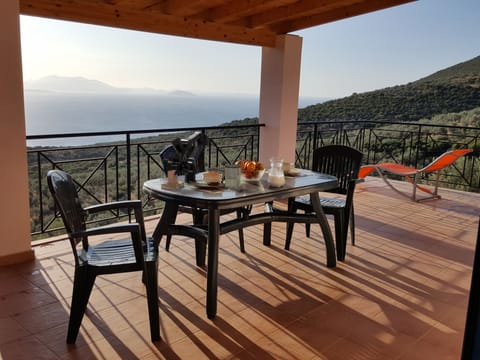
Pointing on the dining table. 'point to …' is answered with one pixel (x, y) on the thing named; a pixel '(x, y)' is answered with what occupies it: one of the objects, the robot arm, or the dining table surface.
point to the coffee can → (232, 175)
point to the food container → (218, 171)
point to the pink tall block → (172, 177)
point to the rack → (172, 185)
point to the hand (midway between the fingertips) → (171, 174)
